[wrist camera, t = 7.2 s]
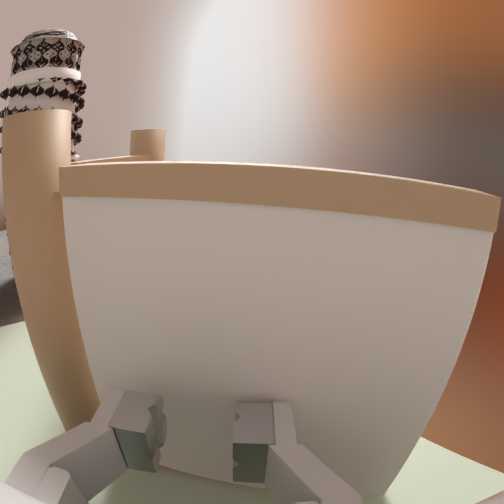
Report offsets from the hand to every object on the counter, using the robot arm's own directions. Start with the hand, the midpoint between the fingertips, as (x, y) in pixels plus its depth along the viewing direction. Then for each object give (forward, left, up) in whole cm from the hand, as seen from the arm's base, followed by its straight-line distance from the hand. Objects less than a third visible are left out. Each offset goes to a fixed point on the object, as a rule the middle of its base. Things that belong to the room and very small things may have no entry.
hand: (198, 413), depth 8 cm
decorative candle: (-28, -1, -5) cm, 29 cm away
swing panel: (0, +2, -4) cm, 5 cm away
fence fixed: (-10, +2, -5) cm, 12 cm away
